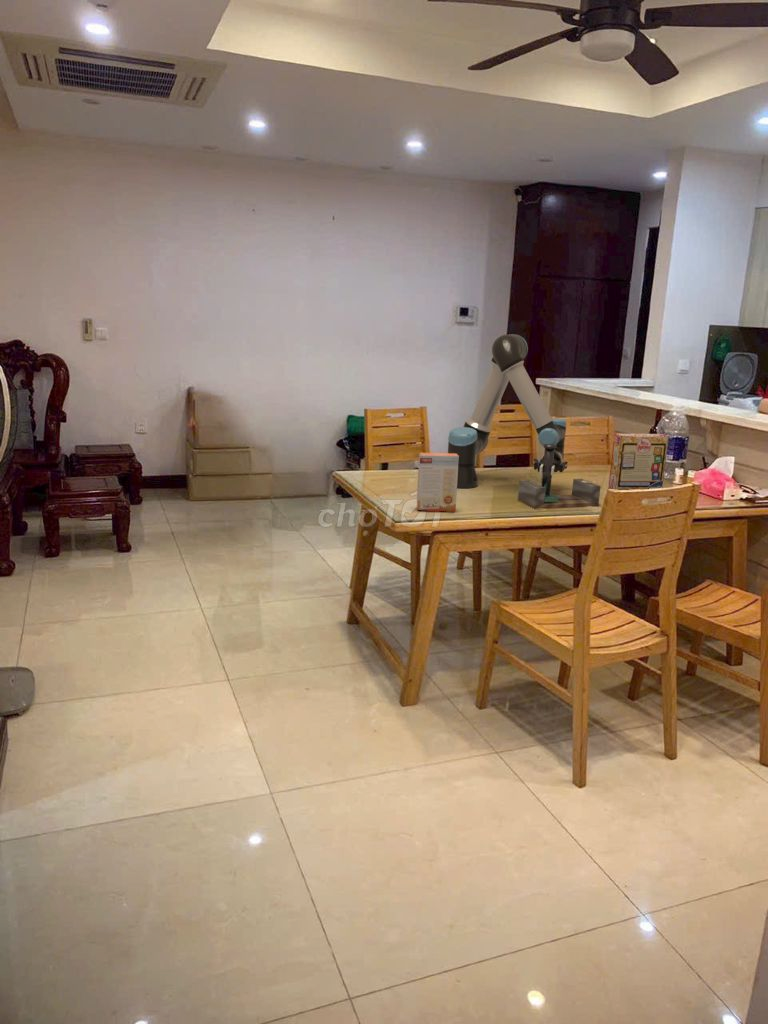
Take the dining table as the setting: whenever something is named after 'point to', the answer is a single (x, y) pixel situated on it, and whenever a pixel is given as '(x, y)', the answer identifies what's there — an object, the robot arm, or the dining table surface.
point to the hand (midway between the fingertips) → (546, 471)
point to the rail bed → (581, 495)
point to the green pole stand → (548, 472)
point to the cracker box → (437, 481)
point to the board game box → (638, 461)
